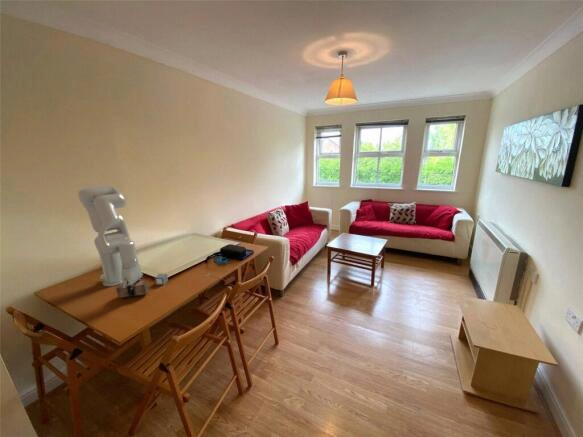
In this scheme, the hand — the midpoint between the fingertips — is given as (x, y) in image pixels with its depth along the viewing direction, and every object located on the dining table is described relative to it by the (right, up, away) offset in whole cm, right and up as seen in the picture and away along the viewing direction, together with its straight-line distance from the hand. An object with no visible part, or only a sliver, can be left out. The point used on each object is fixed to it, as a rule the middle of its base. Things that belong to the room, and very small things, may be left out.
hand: (135, 291), depth 136 cm
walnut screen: (-1, -1, 0) cm, 1 cm away
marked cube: (+7, +1, +14) cm, 16 cm away
